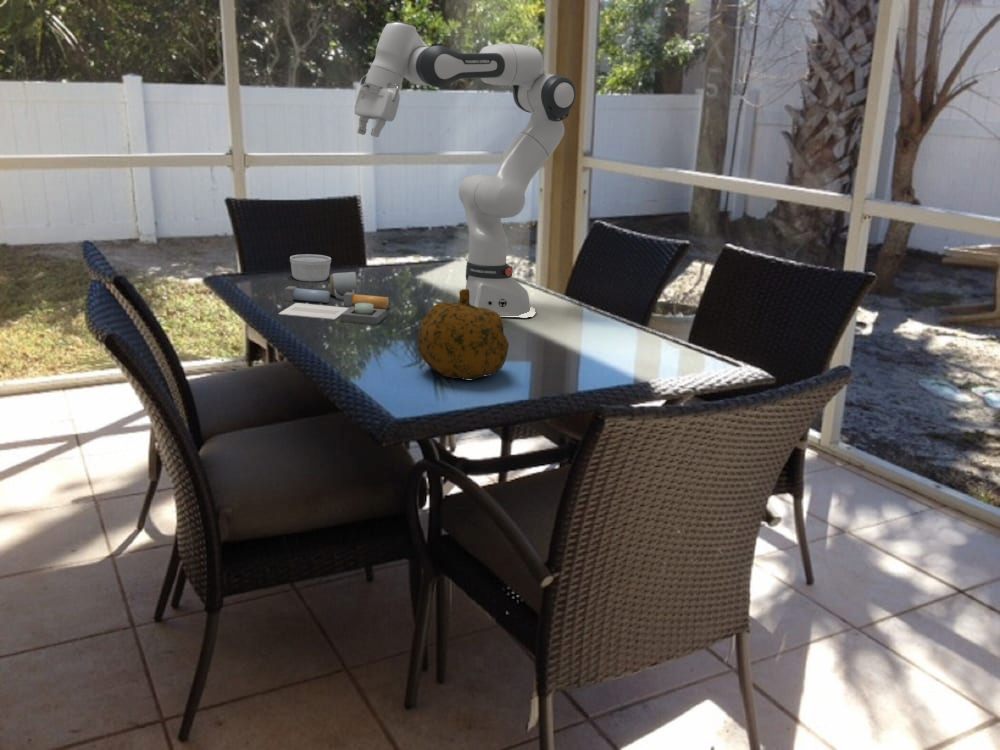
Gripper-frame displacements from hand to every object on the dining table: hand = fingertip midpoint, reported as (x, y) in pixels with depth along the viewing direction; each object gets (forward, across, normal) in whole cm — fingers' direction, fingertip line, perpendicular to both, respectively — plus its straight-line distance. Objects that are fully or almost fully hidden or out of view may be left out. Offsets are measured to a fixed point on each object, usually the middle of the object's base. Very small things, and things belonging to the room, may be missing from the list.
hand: (367, 135), depth 246 cm
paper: (+50, +12, -5) cm, 52 cm away
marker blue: (+49, +25, -7) cm, 56 cm away
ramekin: (+46, +56, -18) cm, 75 cm away
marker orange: (+45, +13, -21) cm, 51 cm away
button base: (+47, 0, -15) cm, 49 cm away
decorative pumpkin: (+47, -54, -18) cm, 74 cm away
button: (+45, 0, -14) cm, 47 cm away
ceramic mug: (+46, +28, -19) cm, 57 cm away
